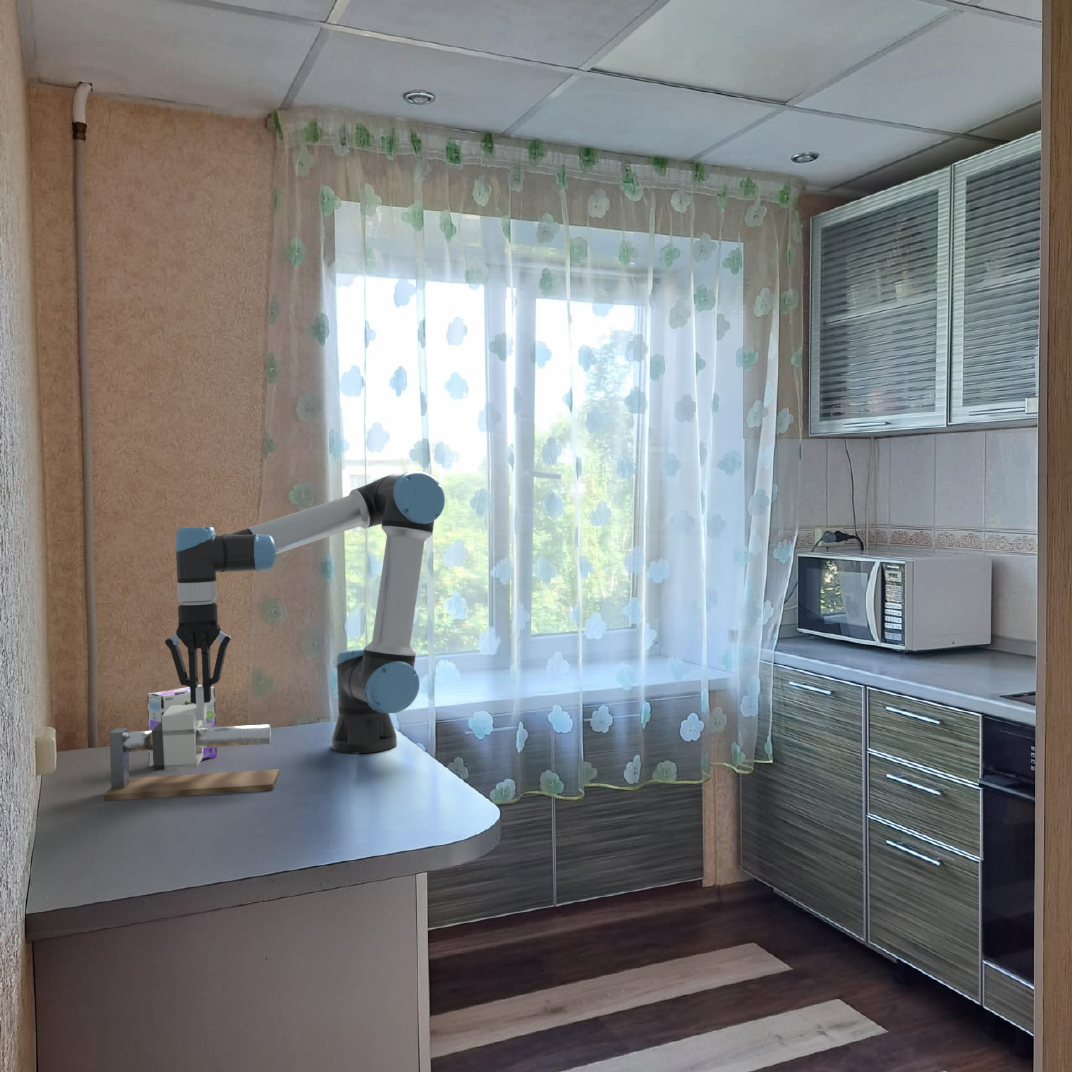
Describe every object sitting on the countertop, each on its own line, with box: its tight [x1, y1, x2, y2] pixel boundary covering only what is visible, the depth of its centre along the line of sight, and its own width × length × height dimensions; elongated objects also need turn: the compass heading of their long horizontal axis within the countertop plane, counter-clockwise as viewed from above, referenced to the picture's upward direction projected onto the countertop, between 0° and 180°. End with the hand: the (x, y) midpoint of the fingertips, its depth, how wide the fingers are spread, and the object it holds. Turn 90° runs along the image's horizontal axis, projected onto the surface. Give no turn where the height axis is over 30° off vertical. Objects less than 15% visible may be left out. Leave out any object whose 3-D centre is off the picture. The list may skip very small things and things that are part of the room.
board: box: [102, 768, 280, 802], centre depth 198 cm, size 32×12×1 cm, turn 98°
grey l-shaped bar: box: [109, 723, 272, 789], centre depth 197 cm, size 31×4×11 cm, turn 98°
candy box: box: [147, 684, 218, 768], centre depth 219 cm, size 14×6×16 cm, turn 143°
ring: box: [152, 721, 165, 772], centre depth 197 cm, size 2×8×8 cm, turn 8°
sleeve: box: [162, 704, 204, 771], centre depth 197 cm, size 6×8×11 cm
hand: (201, 718), depth 198 cm, fingers closed
